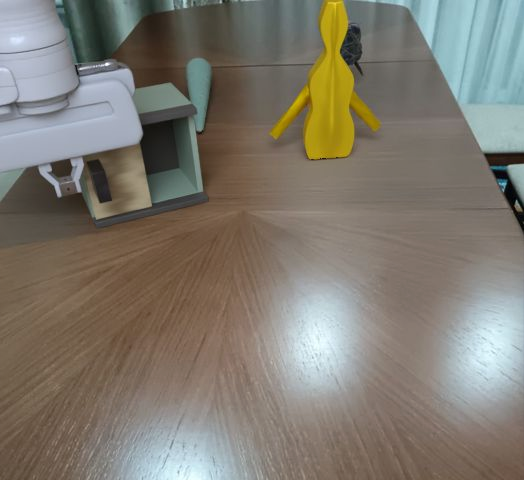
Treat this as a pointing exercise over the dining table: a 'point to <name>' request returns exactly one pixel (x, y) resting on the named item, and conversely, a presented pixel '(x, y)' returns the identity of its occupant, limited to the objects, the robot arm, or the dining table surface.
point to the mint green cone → (199, 88)
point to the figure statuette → (328, 94)
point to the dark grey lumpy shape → (352, 46)
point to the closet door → (116, 181)
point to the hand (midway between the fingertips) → (69, 193)
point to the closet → (163, 154)
